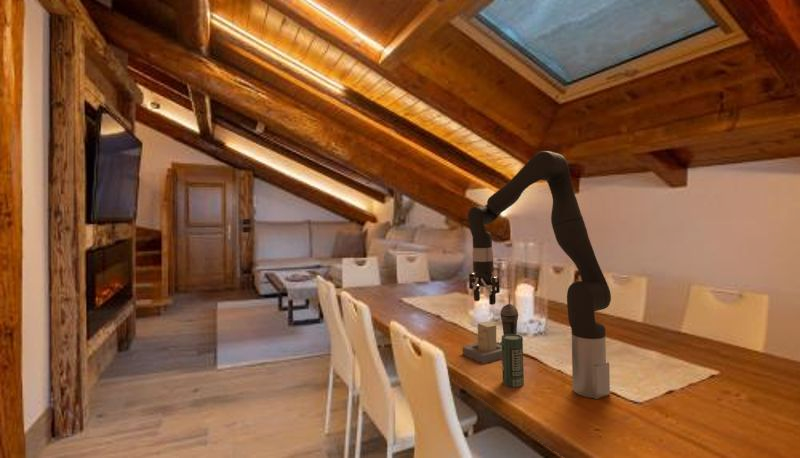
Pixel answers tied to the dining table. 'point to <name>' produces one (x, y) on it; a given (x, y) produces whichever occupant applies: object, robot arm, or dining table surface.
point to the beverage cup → (509, 318)
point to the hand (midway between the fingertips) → (484, 302)
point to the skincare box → (486, 337)
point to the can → (512, 360)
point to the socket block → (482, 353)
